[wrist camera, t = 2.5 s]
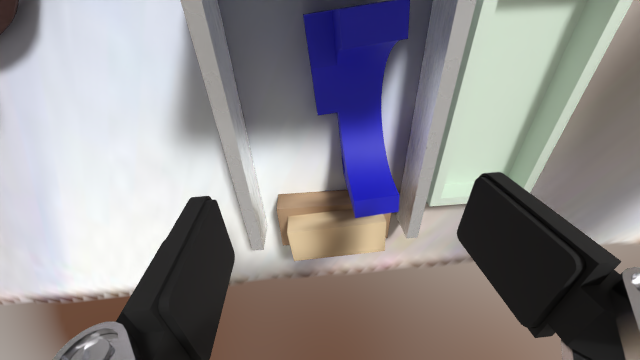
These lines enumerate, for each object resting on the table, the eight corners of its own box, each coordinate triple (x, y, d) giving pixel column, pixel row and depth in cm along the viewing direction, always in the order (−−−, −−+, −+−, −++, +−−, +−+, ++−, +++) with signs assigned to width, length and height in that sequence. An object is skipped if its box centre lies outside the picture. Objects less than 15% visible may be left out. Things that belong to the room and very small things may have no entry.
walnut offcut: (385, 184, 24) (393, 201, 22) (380, 219, 26) (387, 237, 24) (278, 191, 23) (276, 209, 21) (284, 226, 26) (283, 245, 24)
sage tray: (614, -52, 15) (665, -62, 12) (507, 182, 24) (526, 199, 22) (469, -45, 14) (498, -55, 12) (418, 189, 24) (429, 206, 22)
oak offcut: (379, 205, 22) (386, 221, 20) (378, 233, 24) (384, 250, 22) (288, 216, 22) (287, 233, 20) (294, 243, 24) (294, 260, 22)
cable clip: (303, 14, 16) (304, 15, 11) (375, 2, 15) (410, -2, 10) (326, 174, 22) (333, 221, 17) (376, 167, 22) (398, 211, 17)
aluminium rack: (461, -64, 14) (700, -177, 6) (405, 215, 25) (456, 313, 17) (187, -52, 13) (3, -157, 5) (257, 226, 25) (235, 333, 17)
